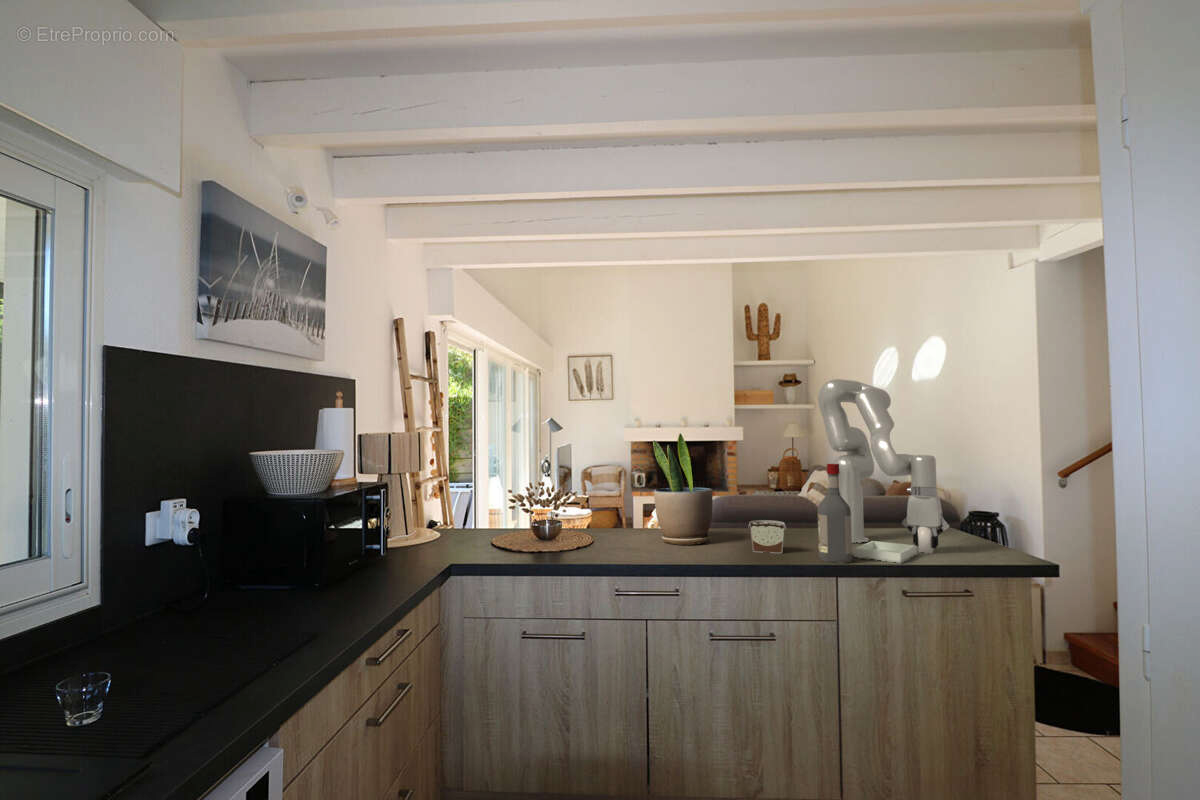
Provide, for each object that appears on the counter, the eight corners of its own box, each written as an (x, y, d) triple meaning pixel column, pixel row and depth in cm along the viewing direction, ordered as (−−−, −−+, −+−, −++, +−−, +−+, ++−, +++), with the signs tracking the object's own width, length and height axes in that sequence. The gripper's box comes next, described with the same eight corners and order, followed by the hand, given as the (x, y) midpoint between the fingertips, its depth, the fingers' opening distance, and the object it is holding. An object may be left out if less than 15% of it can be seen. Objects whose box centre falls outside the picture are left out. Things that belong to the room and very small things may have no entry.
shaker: (916, 552, 208) (915, 520, 209) (920, 550, 212) (919, 518, 212) (931, 554, 205) (930, 521, 206) (935, 552, 209) (934, 520, 209)
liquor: (848, 558, 199) (846, 463, 201) (853, 563, 190) (850, 464, 192) (818, 556, 201) (816, 463, 203) (821, 562, 192) (819, 464, 194)
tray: (853, 557, 200) (853, 548, 200) (872, 549, 213) (872, 540, 213) (900, 563, 190) (900, 553, 190) (916, 554, 204) (916, 545, 204)
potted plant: (645, 538, 237) (644, 433, 239) (696, 535, 243) (695, 433, 246) (668, 548, 217) (667, 432, 219) (723, 544, 223) (722, 432, 226)
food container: (787, 550, 212) (787, 520, 213) (786, 553, 206) (786, 523, 207) (750, 548, 216) (750, 519, 217) (748, 551, 210) (748, 521, 211)
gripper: (893, 491, 212) (895, 545, 211) (949, 494, 201) (951, 551, 200) (900, 489, 218) (901, 542, 217) (955, 492, 207) (956, 548, 206)
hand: (925, 546), depth 209 cm, fingers closed on shaker, 4 cm apart
